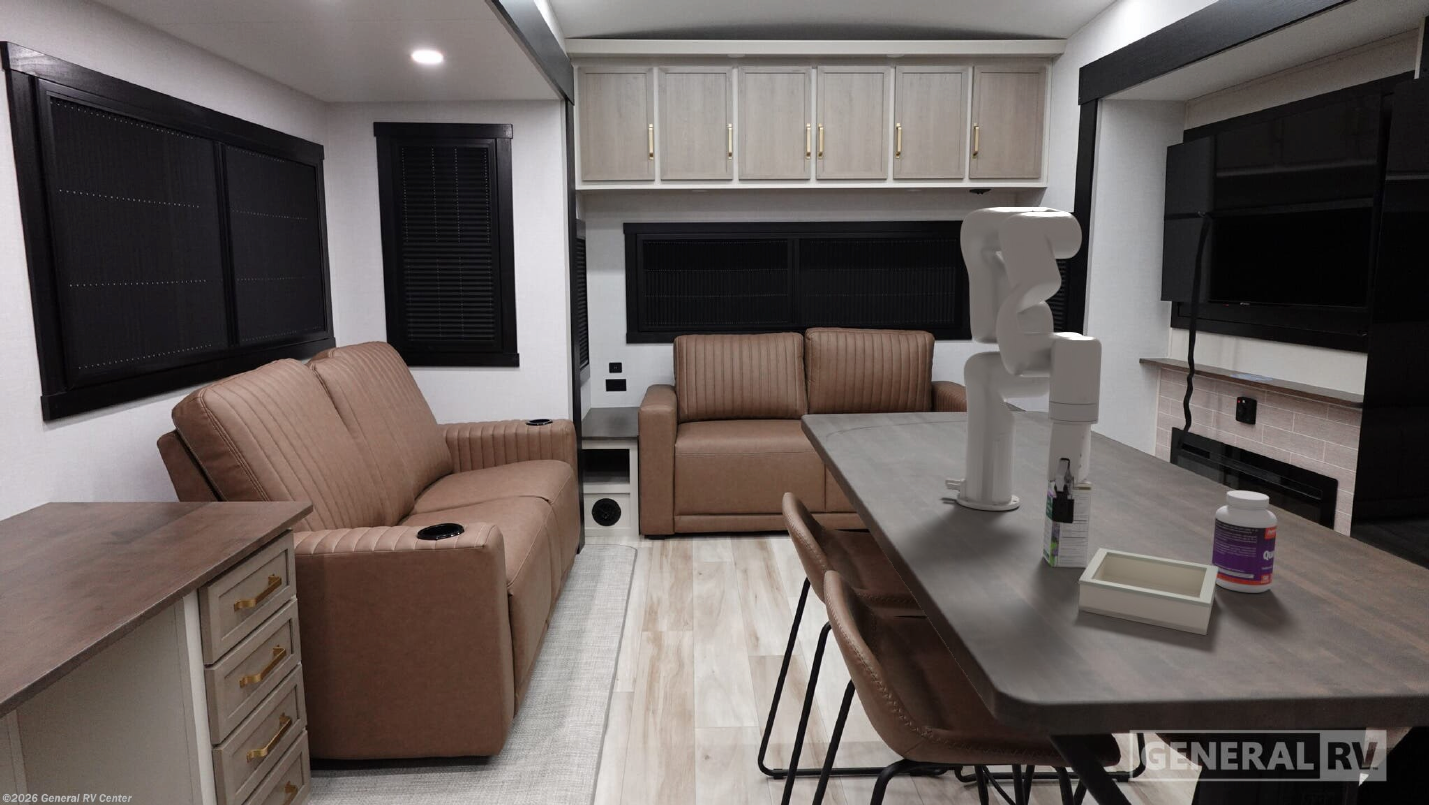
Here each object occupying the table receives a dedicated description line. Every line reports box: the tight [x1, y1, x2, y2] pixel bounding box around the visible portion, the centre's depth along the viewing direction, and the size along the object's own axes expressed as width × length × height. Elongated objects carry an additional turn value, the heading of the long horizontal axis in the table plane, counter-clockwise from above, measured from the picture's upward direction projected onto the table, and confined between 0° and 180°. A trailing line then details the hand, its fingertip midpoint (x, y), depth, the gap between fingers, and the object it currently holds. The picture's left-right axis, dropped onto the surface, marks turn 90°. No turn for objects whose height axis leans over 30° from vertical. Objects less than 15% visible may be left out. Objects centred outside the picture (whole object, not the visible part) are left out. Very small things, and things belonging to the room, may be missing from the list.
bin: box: [1078, 547, 1218, 636], centre depth 126 cm, size 16×16×5 cm
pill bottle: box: [1210, 490, 1278, 594], centre depth 131 cm, size 8×8×14 cm
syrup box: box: [1042, 478, 1093, 568], centre depth 142 cm, size 6×6×14 cm
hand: (1068, 515), depth 142 cm, fingers open, 9 cm apart
